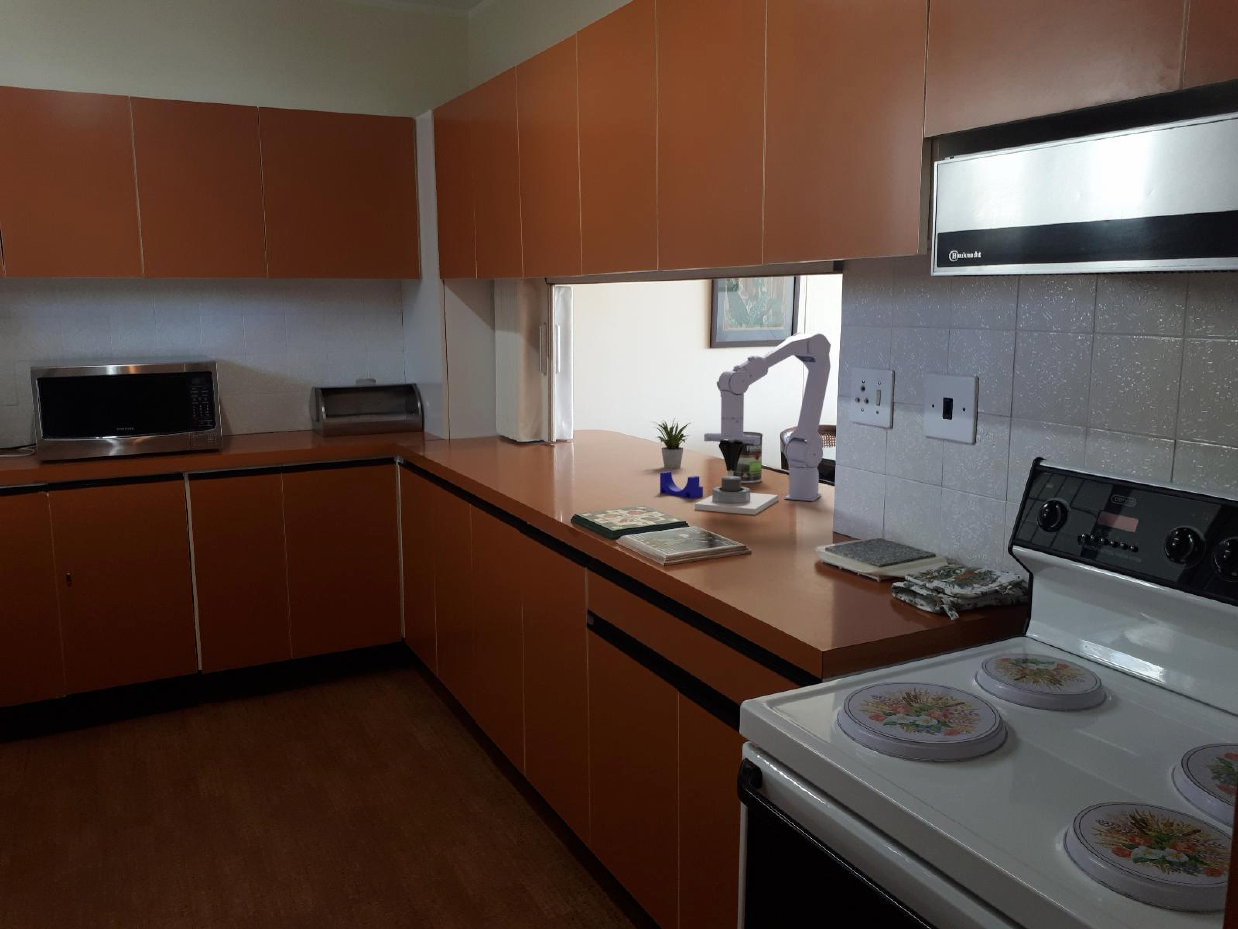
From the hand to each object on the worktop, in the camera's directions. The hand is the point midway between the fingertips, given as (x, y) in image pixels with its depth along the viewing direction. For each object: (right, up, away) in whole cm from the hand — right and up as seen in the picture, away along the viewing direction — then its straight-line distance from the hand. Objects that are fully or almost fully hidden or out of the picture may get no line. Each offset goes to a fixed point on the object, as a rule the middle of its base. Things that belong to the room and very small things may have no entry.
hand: (731, 470), depth 256 cm
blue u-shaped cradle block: (-12, -7, +17) cm, 22 cm away
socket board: (+2, -9, +3) cm, 10 cm away
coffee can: (+8, -3, +39) cm, 40 cm away
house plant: (-13, 0, +64) cm, 65 cm away
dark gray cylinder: (0, -8, +1) cm, 8 cm away
